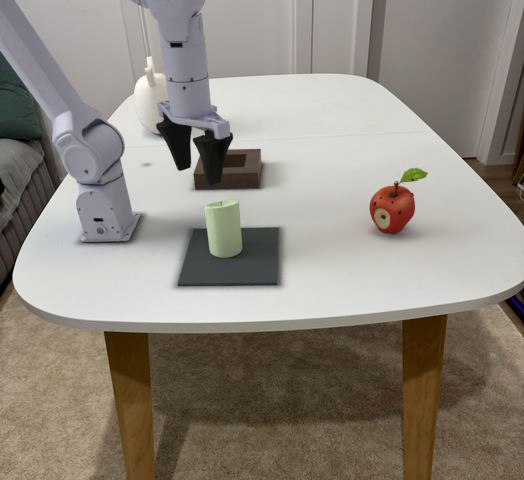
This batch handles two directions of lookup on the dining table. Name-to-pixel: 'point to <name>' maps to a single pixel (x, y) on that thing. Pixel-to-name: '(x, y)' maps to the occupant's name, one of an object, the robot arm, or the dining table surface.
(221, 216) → the candle
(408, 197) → the apple
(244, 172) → the holder
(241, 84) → the dining table surface
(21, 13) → the robot arm
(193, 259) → the mat
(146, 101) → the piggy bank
